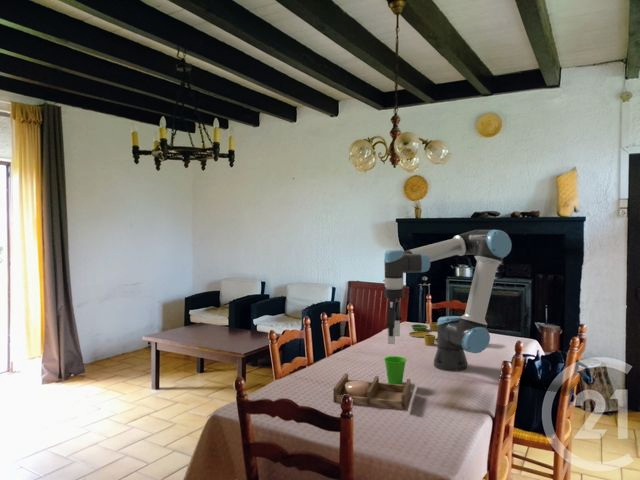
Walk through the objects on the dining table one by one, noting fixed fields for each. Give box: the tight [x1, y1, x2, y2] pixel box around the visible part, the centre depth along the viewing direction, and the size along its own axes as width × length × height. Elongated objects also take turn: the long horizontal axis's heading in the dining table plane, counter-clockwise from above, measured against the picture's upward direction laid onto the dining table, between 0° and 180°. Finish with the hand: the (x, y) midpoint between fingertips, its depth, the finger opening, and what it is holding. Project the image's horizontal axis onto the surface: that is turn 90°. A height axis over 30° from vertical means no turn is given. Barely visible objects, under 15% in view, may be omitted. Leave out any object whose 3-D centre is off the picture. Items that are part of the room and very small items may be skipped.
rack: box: [332, 373, 411, 411], centre depth 177 cm, size 26×18×6 cm
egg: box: [345, 380, 369, 397], centre depth 178 cm, size 9×9×4 cm
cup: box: [383, 355, 407, 385], centre depth 191 cm, size 9×9×11 cm
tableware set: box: [408, 322, 438, 347], centre depth 272 cm, size 41×28×6 cm
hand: (394, 340), depth 191 cm, fingers open, 13 cm apart
